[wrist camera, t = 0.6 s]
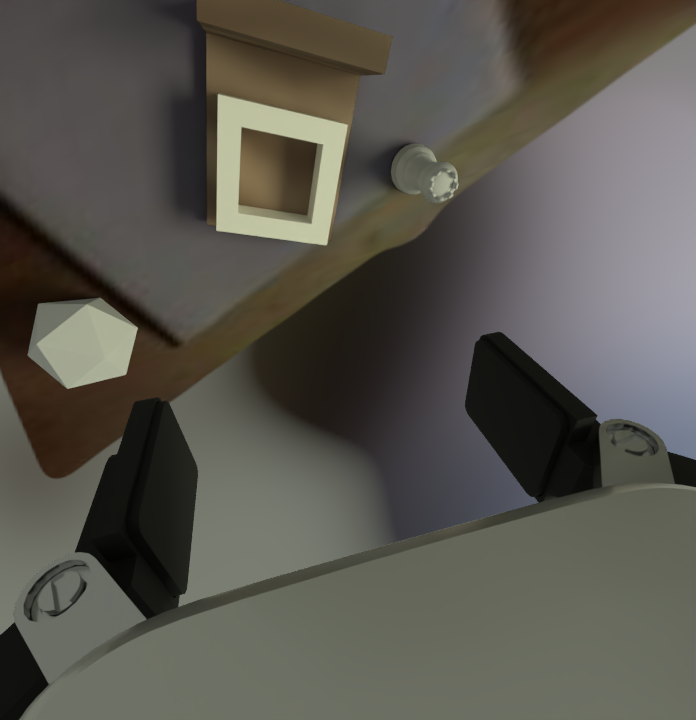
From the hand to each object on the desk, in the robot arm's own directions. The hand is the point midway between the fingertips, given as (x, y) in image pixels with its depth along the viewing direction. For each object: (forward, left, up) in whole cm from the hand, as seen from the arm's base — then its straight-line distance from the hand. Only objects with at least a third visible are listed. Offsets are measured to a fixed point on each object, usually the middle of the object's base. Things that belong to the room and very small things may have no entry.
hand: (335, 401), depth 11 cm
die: (+16, -17, -31) cm, 39 cm away
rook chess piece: (-4, +13, -31) cm, 34 cm away
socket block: (-1, 0, -30) cm, 30 cm away
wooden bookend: (-4, 0, -31) cm, 31 cm away
